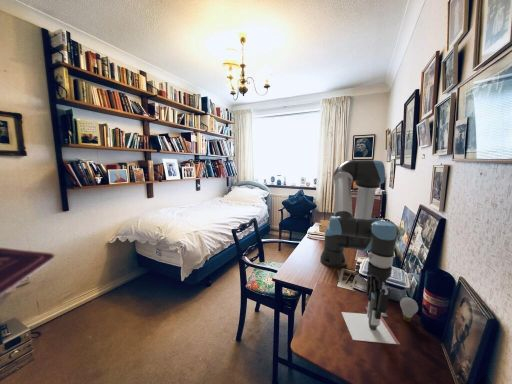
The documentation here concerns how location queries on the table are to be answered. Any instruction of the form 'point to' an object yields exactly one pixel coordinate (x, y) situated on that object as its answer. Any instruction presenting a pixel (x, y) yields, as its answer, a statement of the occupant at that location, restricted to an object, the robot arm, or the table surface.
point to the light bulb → (408, 308)
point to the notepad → (368, 329)
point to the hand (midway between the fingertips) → (373, 320)
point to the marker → (372, 311)
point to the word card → (381, 313)
